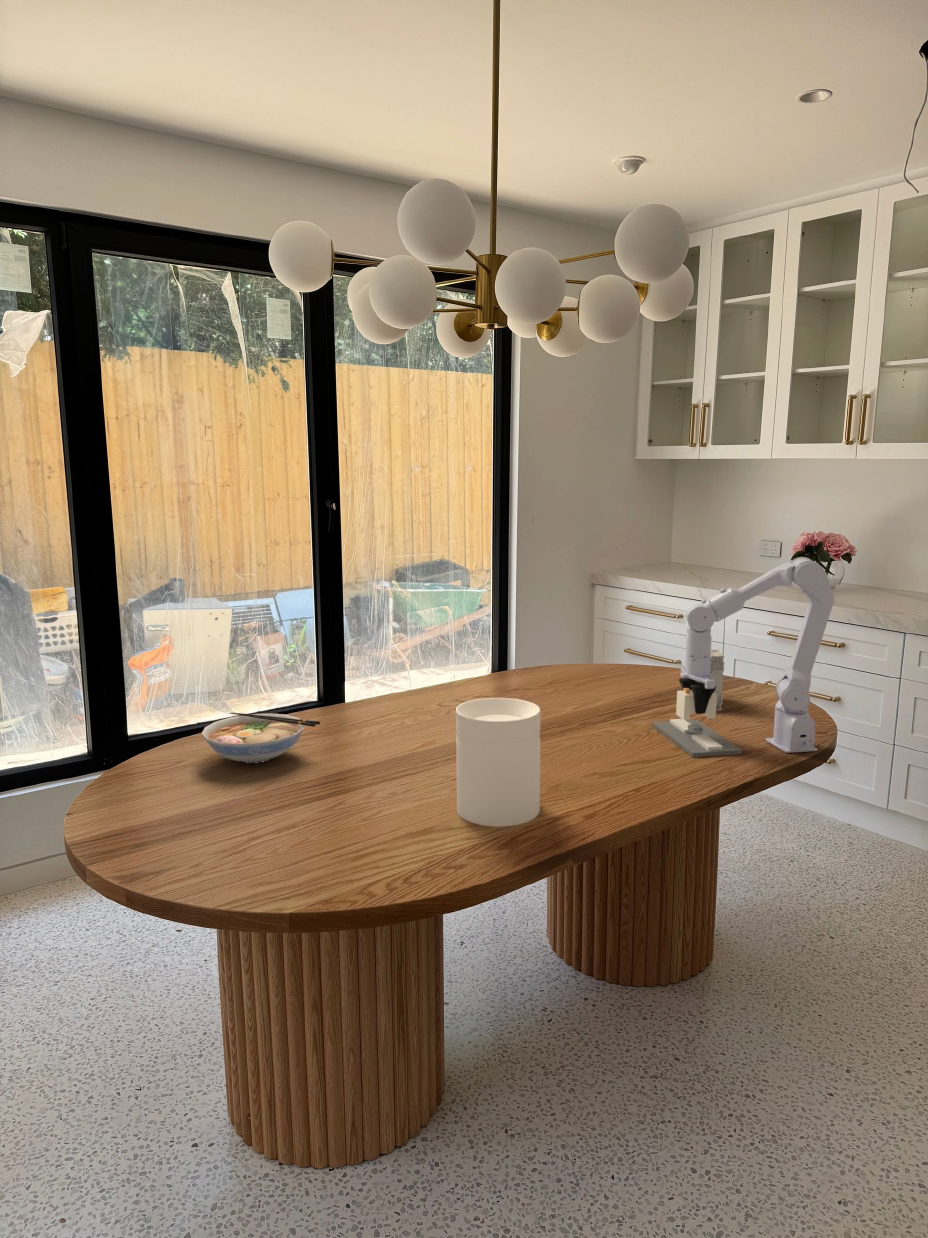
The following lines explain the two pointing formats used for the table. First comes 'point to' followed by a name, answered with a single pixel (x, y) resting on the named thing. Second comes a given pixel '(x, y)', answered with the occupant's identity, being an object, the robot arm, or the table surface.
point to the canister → (498, 761)
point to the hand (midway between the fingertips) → (695, 710)
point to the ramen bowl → (255, 736)
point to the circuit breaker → (717, 675)
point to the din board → (696, 739)
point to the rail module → (693, 705)
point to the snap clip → (695, 728)
